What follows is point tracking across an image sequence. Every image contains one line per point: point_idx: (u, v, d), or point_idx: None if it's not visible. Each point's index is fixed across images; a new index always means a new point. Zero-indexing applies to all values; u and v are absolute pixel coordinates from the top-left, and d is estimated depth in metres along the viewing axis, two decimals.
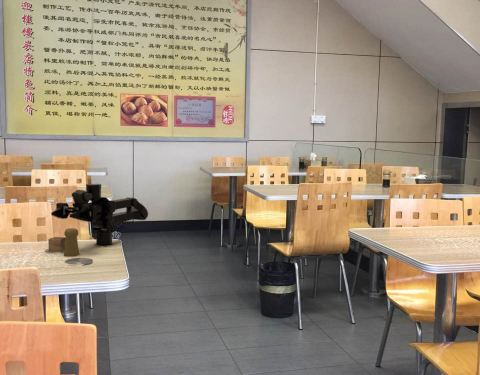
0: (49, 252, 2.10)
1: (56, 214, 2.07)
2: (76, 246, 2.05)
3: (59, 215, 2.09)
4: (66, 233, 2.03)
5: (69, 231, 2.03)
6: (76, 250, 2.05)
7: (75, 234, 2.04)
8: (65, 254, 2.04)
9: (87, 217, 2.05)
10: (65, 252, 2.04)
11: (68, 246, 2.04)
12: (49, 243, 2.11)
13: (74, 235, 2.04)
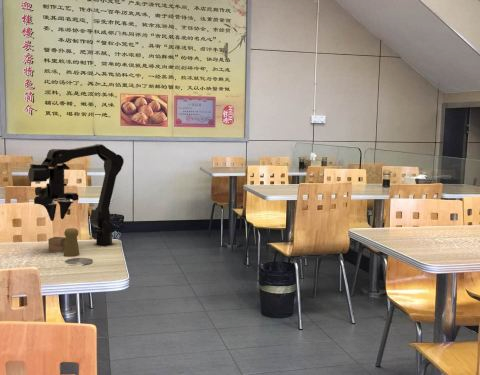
0: (49, 252, 2.10)
1: (62, 213, 2.14)
2: (76, 246, 2.05)
3: (64, 208, 2.14)
4: (66, 233, 2.03)
5: (69, 231, 2.03)
6: (76, 250, 2.05)
7: (75, 234, 2.04)
8: (65, 254, 2.04)
9: (49, 205, 2.06)
10: (65, 252, 2.04)
11: (68, 246, 2.04)
12: (49, 243, 2.11)
13: (74, 235, 2.04)
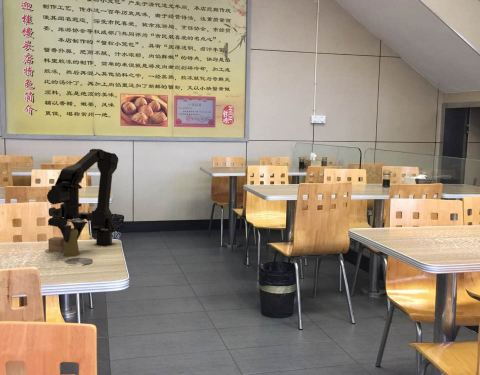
0: (49, 252, 2.10)
1: None
2: (76, 246, 2.05)
3: (78, 229, 2.07)
4: None
5: None
6: (76, 250, 2.05)
7: (75, 234, 2.04)
8: (65, 254, 2.04)
9: None
10: (65, 252, 2.04)
11: (68, 246, 2.04)
12: (49, 243, 2.11)
13: (74, 235, 2.04)
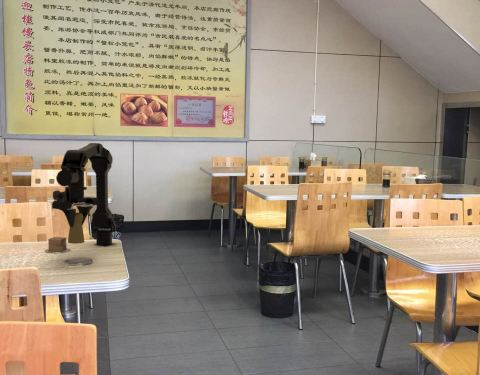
0: (49, 252, 2.10)
1: None
2: (81, 231, 1.96)
3: (84, 214, 1.99)
4: None
5: None
6: (81, 235, 1.97)
7: (80, 218, 1.96)
8: (69, 239, 1.96)
9: (68, 210, 1.92)
10: (69, 237, 1.96)
11: (72, 231, 1.95)
12: (49, 243, 2.11)
13: (79, 219, 1.96)
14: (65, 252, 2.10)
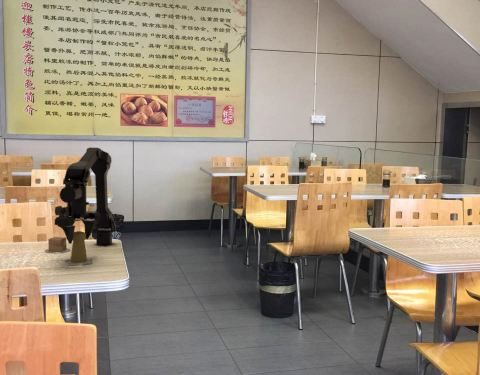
0: (49, 252, 2.10)
1: (87, 233, 2.00)
2: (83, 250, 1.96)
3: (89, 228, 2.00)
4: (73, 236, 1.94)
5: (76, 234, 1.94)
6: (84, 254, 1.96)
7: (83, 237, 1.95)
8: (72, 258, 1.95)
9: None
10: (72, 256, 1.95)
11: (75, 250, 1.94)
12: (49, 243, 2.11)
13: (81, 239, 1.95)
14: (65, 252, 2.10)
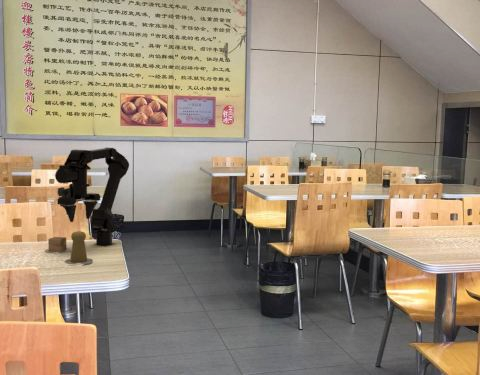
0: (49, 252, 2.10)
1: (88, 213, 2.16)
2: (83, 250, 1.96)
3: (90, 208, 2.16)
4: (73, 236, 1.94)
5: (76, 234, 1.94)
6: (84, 254, 1.96)
7: (82, 237, 1.95)
8: (72, 258, 1.95)
9: (69, 206, 2.04)
10: (72, 256, 1.95)
11: (75, 250, 1.94)
12: (49, 243, 2.11)
13: (81, 239, 1.95)
14: (65, 252, 2.10)
